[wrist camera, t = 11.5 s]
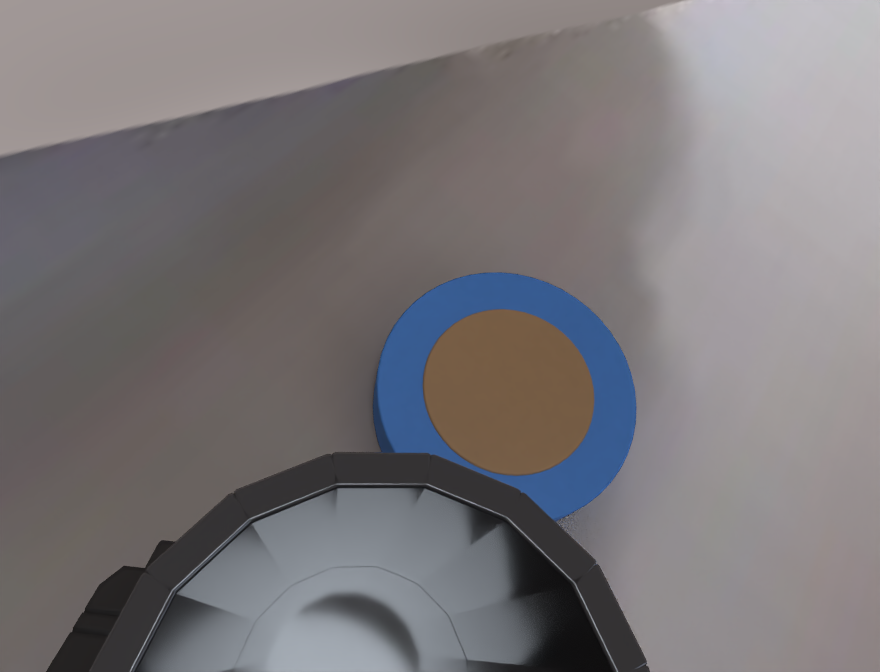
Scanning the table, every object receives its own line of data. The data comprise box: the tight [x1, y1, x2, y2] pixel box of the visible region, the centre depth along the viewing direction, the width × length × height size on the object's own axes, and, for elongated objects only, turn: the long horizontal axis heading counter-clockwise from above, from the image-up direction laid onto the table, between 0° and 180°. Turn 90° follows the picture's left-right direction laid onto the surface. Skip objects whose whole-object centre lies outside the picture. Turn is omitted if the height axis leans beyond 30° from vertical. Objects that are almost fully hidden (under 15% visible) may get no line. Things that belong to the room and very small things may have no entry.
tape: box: [373, 273, 636, 522], centre depth 27 cm, size 10×10×3 cm
